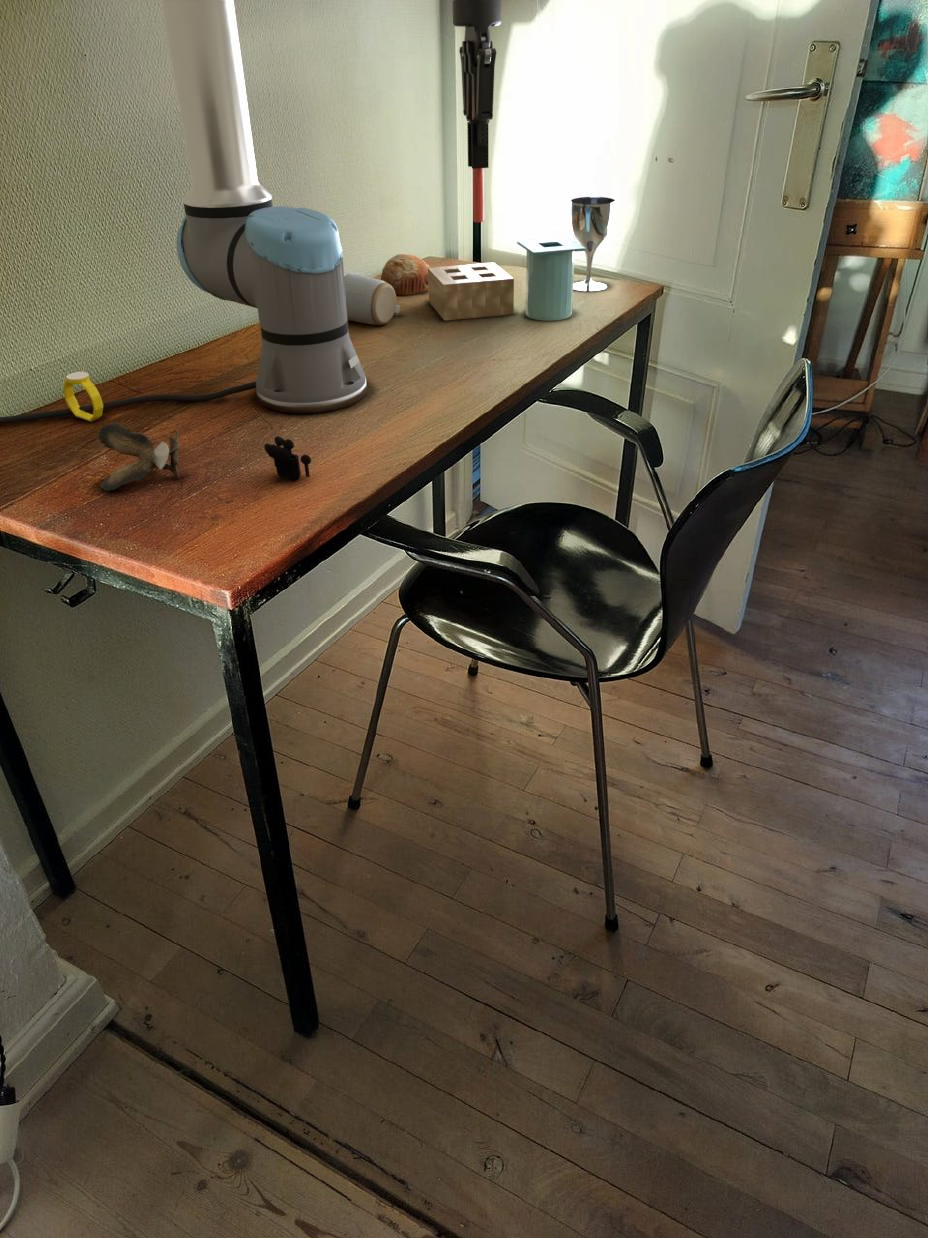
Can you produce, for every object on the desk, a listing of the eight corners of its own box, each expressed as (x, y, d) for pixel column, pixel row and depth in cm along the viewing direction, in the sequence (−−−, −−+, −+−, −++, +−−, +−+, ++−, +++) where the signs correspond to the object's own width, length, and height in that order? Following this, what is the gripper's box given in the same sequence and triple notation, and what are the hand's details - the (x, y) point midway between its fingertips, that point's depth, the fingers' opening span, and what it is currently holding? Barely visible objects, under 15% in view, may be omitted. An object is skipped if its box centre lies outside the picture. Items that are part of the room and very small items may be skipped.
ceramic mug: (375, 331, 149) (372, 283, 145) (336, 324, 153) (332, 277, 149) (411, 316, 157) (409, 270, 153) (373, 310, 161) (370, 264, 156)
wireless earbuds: (316, 483, 102) (311, 441, 99) (301, 491, 100) (295, 449, 98) (272, 469, 105) (266, 428, 103) (257, 477, 104) (250, 436, 101)
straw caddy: (444, 320, 154) (443, 284, 150) (428, 301, 164) (427, 267, 160) (513, 314, 156) (514, 278, 153) (494, 296, 166) (494, 262, 163)
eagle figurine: (179, 449, 108) (99, 444, 105) (179, 412, 102) (93, 407, 99) (179, 503, 105) (97, 500, 102) (179, 470, 99) (91, 466, 96)
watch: (65, 417, 120) (52, 374, 117) (81, 411, 122) (70, 368, 119) (94, 426, 118) (82, 381, 114) (111, 419, 120) (100, 375, 116)
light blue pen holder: (533, 322, 152) (535, 253, 146) (519, 309, 158) (520, 243, 152) (578, 318, 154) (581, 250, 147) (562, 305, 160) (565, 240, 154)
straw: (474, 222, 154) (473, 94, 143) (472, 220, 155) (470, 93, 145) (485, 221, 154) (484, 93, 143) (482, 219, 156) (481, 93, 145)
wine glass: (618, 287, 170) (624, 200, 161) (585, 294, 166) (590, 206, 157) (590, 278, 175) (594, 194, 167) (558, 285, 171) (561, 200, 163)
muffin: (390, 301, 178) (370, 263, 174) (436, 275, 176) (416, 237, 172) (392, 315, 170) (371, 276, 165) (440, 288, 168) (420, 248, 164)
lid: (533, 254, 145) (533, 252, 145) (517, 243, 152) (517, 240, 152) (585, 250, 147) (585, 247, 147) (567, 239, 154) (567, 236, 154)
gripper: (514, -7, 131) (512, 171, 145) (487, -5, 143) (487, 159, 157) (465, -6, 130) (467, 174, 143) (441, -4, 142) (446, 162, 155)
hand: (478, 166), depth 150 cm, fingers closed on straw, 2 cm apart
